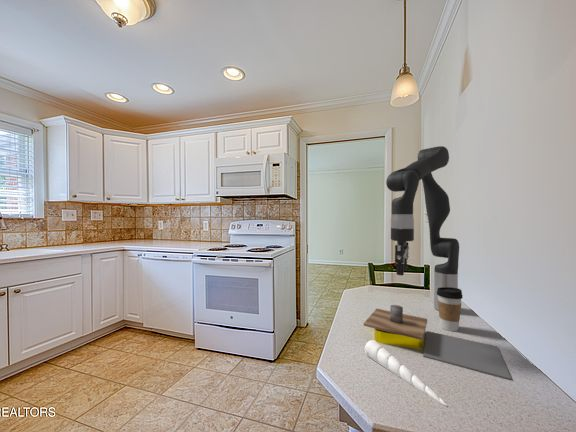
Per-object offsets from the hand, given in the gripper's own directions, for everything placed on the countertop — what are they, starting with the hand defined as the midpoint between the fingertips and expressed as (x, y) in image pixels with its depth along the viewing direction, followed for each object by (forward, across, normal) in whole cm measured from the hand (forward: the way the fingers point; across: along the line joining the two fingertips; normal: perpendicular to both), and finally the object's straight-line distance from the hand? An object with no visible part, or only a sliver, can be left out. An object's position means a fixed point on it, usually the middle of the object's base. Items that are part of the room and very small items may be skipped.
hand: (401, 272), depth 89 cm
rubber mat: (+22, +2, +18) cm, 28 cm away
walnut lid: (+18, +1, -2) cm, 18 cm away
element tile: (+23, +2, -1) cm, 23 cm away
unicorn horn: (+22, +25, +3) cm, 34 cm away
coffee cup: (+23, -17, +14) cm, 32 cm away
